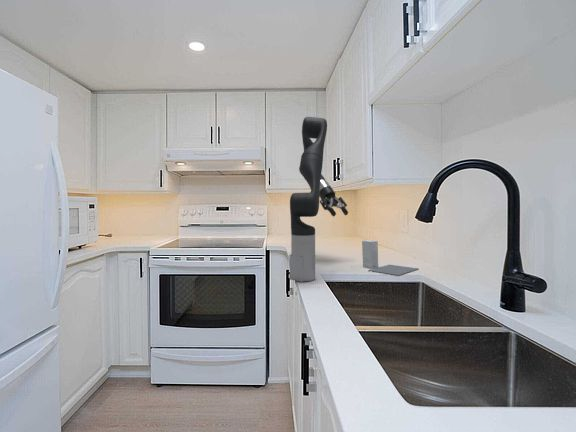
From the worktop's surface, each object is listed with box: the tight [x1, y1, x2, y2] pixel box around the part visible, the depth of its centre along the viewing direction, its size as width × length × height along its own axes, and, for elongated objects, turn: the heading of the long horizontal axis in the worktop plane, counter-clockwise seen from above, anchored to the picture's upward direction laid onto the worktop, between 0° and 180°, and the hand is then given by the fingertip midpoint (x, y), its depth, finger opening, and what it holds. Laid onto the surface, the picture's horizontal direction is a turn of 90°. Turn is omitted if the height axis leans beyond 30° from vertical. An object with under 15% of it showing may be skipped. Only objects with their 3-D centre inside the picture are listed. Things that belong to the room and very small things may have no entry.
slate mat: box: [367, 264, 419, 277], centre depth 147 cm, size 18×14×1 cm
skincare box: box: [361, 239, 379, 269], centre depth 153 cm, size 6×4×12 cm
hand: (341, 214), depth 165 cm, fingers open, 8 cm apart
